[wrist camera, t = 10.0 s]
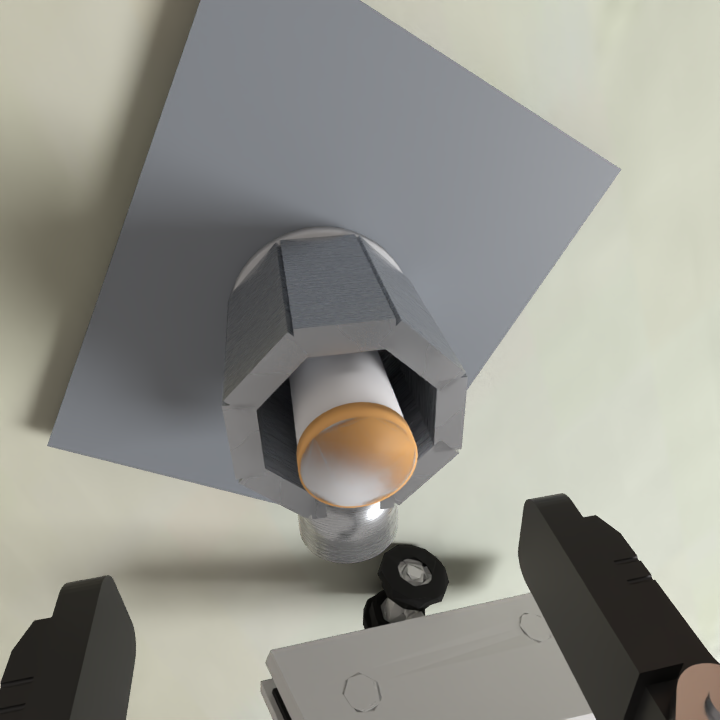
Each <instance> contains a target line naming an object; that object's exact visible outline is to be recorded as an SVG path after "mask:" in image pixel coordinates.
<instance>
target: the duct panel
mask: <svg viewBox="0 0 720 720" xmlns="http://www.w3.org/2000/svg"><path fill="white" fill-rule="evenodd" d="M620 171H621V169H620V168H618V167H617V166H615V165H614V164H612V163H611V162H609V161H608V160H606V159H604V158H603V157H601V156H600V155H598V154H597V153H595V152H594V151H592V150H591V149H589V148H587V147H586V146H584V145H583V144H581V143H580V142H578V141H577V140H575V139H574V138H572V137H570V136H569V135H567V134H566V133H564V132H563V131H561V130H560V129H558V128H557V127H555V126H553V125H552V124H550V123H549V122H547V121H546V120H544V119H543V118H541V117H540V116H538V115H536V114H535V113H533V112H532V111H530V110H529V109H527V108H526V107H524V106H523V105H521V104H519V103H518V102H516V101H515V100H513V99H512V98H510V97H509V96H507V95H505V94H504V93H502V92H501V91H499V90H498V89H496V88H495V87H493V86H492V85H490V84H488V83H487V82H485V81H484V80H482V79H481V78H479V77H478V76H476V75H475V74H473V73H471V72H470V71H468V70H467V69H465V68H464V67H462V66H461V65H459V64H458V63H456V62H454V61H453V60H451V59H450V58H448V57H447V56H445V55H444V54H442V53H441V52H439V51H437V50H436V49H434V48H433V47H431V46H430V45H428V44H427V43H425V42H424V41H422V40H420V39H419V38H417V37H416V36H414V35H413V34H411V33H410V32H408V31H407V30H405V29H403V28H402V27H400V26H399V25H397V24H396V23H394V22H393V21H391V20H390V19H388V18H386V17H385V16H383V15H382V14H380V13H379V12H377V11H376V10H374V9H372V8H371V7H369V6H368V5H366V4H365V3H363V2H362V1H360V0H200V3H199V6H198V9H197V12H196V15H195V18H194V21H193V24H192V27H191V29H190V32H189V35H188V38H187V41H186V44H185V47H184V50H183V53H182V56H181V59H180V61H179V64H178V67H177V70H176V73H175V76H174V79H173V82H172V85H171V88H170V90H169V93H168V96H167V99H166V102H165V105H164V108H163V111H162V114H161V117H160V120H159V122H158V125H157V128H156V131H155V134H154V137H153V140H152V143H151V146H150V149H149V152H148V154H147V157H146V160H145V163H144V166H143V169H142V172H141V175H140V178H139V181H138V183H137V186H136V189H135V192H134V195H133V198H132V201H131V204H130V207H129V210H128V213H127V215H126V218H125V221H124V224H123V227H122V230H121V233H120V236H119V239H118V242H117V245H116V247H115V250H114V253H113V256H112V259H111V262H110V265H109V268H108V271H107V274H106V276H105V279H104V282H103V285H102V288H101V291H100V294H99V297H98V300H97V303H96V306H95V308H94V311H93V314H92V317H91V320H90V323H89V326H88V329H87V332H86V335H85V337H84V340H83V343H82V346H81V349H80V352H79V355H78V358H77V361H76V364H75V367H74V369H73V372H72V375H71V378H70V381H69V384H68V387H67V390H66V393H65V396H64V399H63V401H62V404H61V407H60V410H59V413H58V416H57V419H56V422H55V425H54V428H53V430H52V433H51V436H50V439H49V442H48V445H47V446H50V447H54V448H58V449H61V450H65V451H69V452H73V453H77V454H81V455H85V456H89V457H93V458H97V459H101V460H105V461H109V462H113V463H117V464H121V465H125V466H129V467H133V468H137V469H141V470H145V471H149V472H153V473H157V474H161V475H165V476H169V477H173V478H177V479H181V480H185V481H189V482H193V483H197V484H201V485H205V486H209V487H213V488H217V489H220V490H224V491H228V492H232V493H236V494H240V495H244V496H248V497H252V498H256V499H260V500H264V501H268V502H272V503H276V502H274V501H272V500H270V499H268V498H266V497H264V496H262V495H260V494H258V493H256V492H255V491H253V490H251V489H249V488H247V487H245V486H243V485H241V484H239V479H235V474H234V469H233V463H232V458H231V453H230V447H229V442H228V437H227V432H226V426H225V421H224V416H223V410H222V393H223V376H224V359H225V342H226V325H227V308H228V300H229V296H230V294H231V293H232V292H233V291H234V290H235V289H236V288H237V286H238V285H239V284H240V283H241V282H242V281H243V279H244V278H245V277H246V276H247V275H248V274H249V273H250V271H251V270H252V269H253V268H254V267H255V266H256V264H257V263H258V262H259V261H260V260H261V259H262V258H263V256H264V255H265V254H266V253H267V252H268V251H269V249H270V248H271V247H272V246H273V245H274V244H275V243H277V244H278V245H280V240H288V239H300V238H312V237H324V236H336V235H348V234H355V236H356V238H357V237H358V236H360V237H362V238H363V239H364V240H365V241H366V242H367V243H368V244H370V245H371V246H372V247H373V248H374V249H375V250H376V251H378V252H379V253H380V254H381V255H382V256H383V257H385V258H386V259H387V260H388V261H389V262H390V263H391V264H393V265H394V266H395V267H396V268H397V269H398V270H399V271H401V272H402V273H403V274H404V275H405V276H406V277H407V278H409V279H410V281H411V283H412V284H413V286H414V288H415V289H416V291H417V293H418V294H419V296H420V298H421V299H422V301H423V303H424V304H425V306H426V308H427V309H428V311H429V313H430V314H431V316H432V317H433V319H434V321H435V322H436V324H437V326H438V327H439V329H440V331H441V332H442V334H443V336H444V337H445V339H446V341H447V342H448V344H449V346H450V347H451V349H452V350H453V352H454V354H455V355H456V357H457V359H458V360H459V362H460V364H461V365H462V367H463V369H464V370H465V372H466V375H467V377H468V380H467V389H468V388H469V386H470V385H471V383H472V382H473V381H474V379H475V378H476V376H477V375H478V373H479V372H480V371H481V369H482V368H483V366H484V365H485V363H486V362H487V361H488V359H489V358H490V356H491V355H492V353H493V352H494V351H495V349H496V348H497V346H498V345H499V343H500V342H501V341H502V339H503V338H504V336H505V335H506V333H507V332H508V331H509V329H510V328H511V326H512V325H513V323H514V322H515V321H516V319H517V318H518V316H519V315H520V313H521V312H522V311H523V309H524V308H525V306H526V305H527V303H528V302H529V301H530V299H531V298H532V296H533V295H534V293H535V292H536V291H537V289H538V288H539V286H540V285H541V283H542V282H543V281H544V279H545V278H546V276H547V275H548V273H549V272H550V271H551V269H552V268H553V266H554V265H555V263H556V262H557V261H558V259H559V258H560V256H561V255H562V253H563V252H564V251H565V249H566V248H567V246H568V245H569V243H570V242H571V241H572V239H573V238H574V236H575V235H576V233H577V232H578V231H579V229H580V228H581V226H582V225H583V223H584V222H585V221H586V219H587V218H588V216H589V215H590V213H591V212H592V211H593V209H594V208H595V206H596V205H597V203H598V202H599V201H600V199H601V198H602V196H603V195H604V193H605V192H606V191H607V189H608V188H609V186H610V185H611V183H612V182H613V181H614V179H615V178H616V176H617V175H618V173H619V172H620ZM280 246H281V245H280ZM289 381H290V389H291V397H292V406H293V414H294V423H295V431H296V439H297V452H296V453H297V466H298V473H299V478H300V481H301V483H302V485H303V487H304V488H305V489H306V491H307V492H308V493H309V494H310V495H311V496H313V497H314V498H315V499H317V500H319V501H321V502H323V503H325V504H328V505H331V506H336V507H343V508H356V507H363V506H368V505H371V504H375V503H377V502H380V501H382V500H384V499H386V498H388V497H390V496H391V495H393V494H395V493H396V492H397V491H398V490H400V489H401V488H402V487H403V486H404V485H405V484H406V482H407V481H408V480H409V479H410V477H411V475H412V474H413V472H414V470H415V467H416V463H417V457H418V452H417V446H416V442H415V440H414V437H413V435H412V432H411V430H410V427H409V425H408V424H407V422H406V421H405V419H404V417H403V415H402V412H401V409H400V407H399V404H398V402H397V399H396V397H395V394H394V391H393V389H392V386H391V384H390V381H389V378H388V376H387V373H386V371H385V368H384V366H383V363H382V360H381V358H380V355H379V353H378V350H374V351H365V352H355V353H346V354H337V355H328V356H319V357H310V358H306V359H305V360H304V361H303V362H302V363H301V364H300V365H299V367H298V368H297V369H296V370H295V371H294V372H293V373H292V374H291V375H290V376H289ZM276 504H278V503H276Z"/></svg>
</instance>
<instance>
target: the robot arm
mask: <svg viewBox="0 0 720 720" xmlns="http://www.w3.org/2000/svg"><path fill="white" fill-rule="evenodd" d="M518 557H519V563H520V568H521V571H522V574H523V577H524V580H525V582H526V584H527V586H528V588H529V590H530V592H531V594H532V595H533V597H534V599H535V601H536V603H537V605H538V607H539V609H540V611H541V613H542V615H543V617H544V619H545V621H546V623H547V625H548V627H549V629H550V631H551V633H552V635H553V636H554V638H555V640H556V642H557V644H558V646H559V648H560V650H561V652H562V654H563V656H564V658H565V660H566V662H567V664H568V666H569V668H570V670H571V672H572V674H573V675H574V677H575V679H576V681H577V683H578V685H579V687H580V689H581V691H582V693H583V695H584V697H585V699H586V701H587V703H588V705H589V707H590V709H591V711H592V713H593V715H594V716H595V718H596V720H720V664H719V663H718V662H717V661H716V660H715V659H714V658H713V656H712V655H711V654H710V653H709V652H708V650H707V649H706V648H705V646H704V645H703V644H702V642H701V641H700V640H699V638H698V637H697V636H696V634H695V633H694V632H693V630H692V629H691V628H690V626H689V625H688V623H687V622H686V621H685V619H684V618H683V617H682V615H681V614H680V613H679V611H678V610H677V609H676V607H675V606H674V605H673V603H672V602H671V601H670V599H669V598H668V597H667V595H666V594H665V593H664V591H663V590H662V589H661V587H660V586H659V585H658V583H657V582H656V580H653V579H652V577H651V574H650V572H649V571H648V570H647V568H646V567H645V566H644V564H643V563H642V562H641V561H639V560H638V558H637V555H636V554H635V552H634V551H633V550H632V548H631V547H630V546H629V544H628V543H627V541H626V540H625V539H624V537H623V536H622V535H621V533H619V532H618V531H617V530H615V529H614V528H613V527H611V526H610V525H609V524H607V523H606V522H604V521H603V520H602V519H600V518H599V517H598V516H596V515H594V516H589V517H583V516H582V515H581V514H580V512H579V511H578V509H577V508H576V506H575V505H574V503H573V502H572V501H571V499H570V498H569V497H568V496H567V495H565V494H563V493H561V494H555V495H550V496H544V497H539V498H533V499H528V500H526V502H525V504H524V509H523V517H522V524H521V532H520V540H519V547H518ZM135 656H136V640H135V632H134V627H133V624H132V621H131V619H130V617H129V614H128V612H127V610H126V607H125V605H124V603H123V600H122V598H121V596H120V593H119V591H118V589H117V587H116V584H115V582H114V580H113V578H112V577H111V576H109V575H107V576H102V577H97V578H91V579H86V580H80V581H75V582H69V583H66V584H65V585H64V586H63V587H62V588H61V590H60V593H59V596H58V599H57V602H56V606H55V609H54V612H53V616H52V617H51V618H46V619H41V620H35V621H34V622H33V623H32V624H31V626H30V627H29V628H28V630H27V631H26V632H25V634H24V635H23V636H22V638H21V639H20V641H19V642H18V643H17V645H16V646H15V647H14V649H13V650H12V652H11V655H10V658H9V660H8V663H7V666H6V669H5V672H4V675H3V677H2V680H1V688H0V720H126V715H127V709H128V702H129V696H130V689H131V683H132V676H133V670H134V664H135Z"/></svg>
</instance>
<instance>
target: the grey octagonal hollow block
mask: <svg viewBox="0 0 720 720" xmlns="http://www.w3.org/2000/svg"><path fill="white" fill-rule="evenodd" d="M280 245H281V246H280ZM280 245H278V244H277V243H275V244H274V245H273V246H272V247H271V248H270V249H269V251H268V252H267V253H266V254H265V255H264V256H263V258H262V259H261V260H260V261H259V262H258V263H257V264H256V266H255V267H254V268H253V269H252V270H251V271H250V273H249V274H248V275H247V276H246V277H245V278H244V279H243V281H242V282H241V283H240V284H239V285H238V286H237V288H236V289H235V290H234V291H233V292H232V293H231V294H230V296H229V300H228V308H227V325H226V342H225V359H224V376H223V393H222V410H223V416H224V421H225V426H226V432H227V437H228V442H229V447H230V453H231V458H232V463H233V469H234V474H235V479H239V484H241V485H243V486H245V487H247V488H249V489H251V490H253V491H255V492H256V493H258V494H260V495H262V496H264V497H266V498H268V499H270V500H272V501H274V502H276V503H278V504H280V505H281V506H283V507H285V508H287V509H289V510H291V511H293V512H295V513H297V514H298V520H299V529H300V535H301V537H302V540H303V542H304V543H305V545H306V546H307V547H308V549H309V550H310V551H312V552H313V553H314V554H316V555H317V556H319V557H321V558H323V559H325V560H328V561H331V562H336V563H358V562H362V561H366V560H369V559H371V558H373V557H375V556H377V555H379V554H380V553H382V552H383V551H384V550H385V549H386V548H387V547H388V546H389V545H390V544H391V542H392V541H393V539H394V537H395V535H396V532H397V526H398V505H400V504H401V503H402V502H403V501H405V500H406V499H407V498H408V497H409V496H410V495H411V494H413V493H414V492H415V491H416V490H417V489H418V488H420V487H421V486H422V485H423V484H424V483H425V482H426V481H428V480H429V479H430V478H431V477H432V476H433V475H434V474H436V473H437V472H438V471H439V470H440V469H441V468H443V467H444V466H445V465H446V464H447V463H448V462H449V461H451V460H452V459H453V458H454V457H455V456H456V455H457V454H459V452H458V449H461V448H462V436H463V425H464V414H465V403H466V391H467V380H468V377H467V375H466V372H465V370H464V369H463V367H462V365H461V364H460V362H459V360H458V359H457V357H456V355H455V354H454V352H453V350H452V349H451V347H450V346H449V344H448V342H447V341H446V339H445V337H444V336H443V334H442V332H441V331H440V329H439V327H438V326H437V324H436V322H435V321H434V319H433V317H432V316H431V314H430V313H429V311H428V309H427V308H426V306H425V304H424V303H423V301H422V299H421V298H420V296H419V294H418V293H417V291H416V289H415V288H414V286H413V284H412V283H411V281H410V279H409V278H407V277H406V276H405V275H404V274H403V273H402V272H401V271H399V270H398V269H397V268H396V267H395V266H394V265H393V264H391V263H390V262H389V261H388V260H387V259H386V258H385V257H383V256H382V255H381V254H380V253H379V252H378V251H376V250H375V249H374V248H373V247H372V246H371V245H370V244H368V243H367V242H366V241H365V240H364V239H363V238H362V237H360V236H358V237H357V238H356V236H355V234H348V235H336V236H324V237H312V238H300V239H288V240H280ZM374 350H378V353H379V355H380V358H381V360H382V363H383V366H384V368H385V371H386V373H387V376H388V378H389V381H390V384H391V386H392V389H393V391H394V394H395V397H396V399H397V402H398V404H399V407H400V409H401V412H402V415H403V417H404V419H405V421H406V422H407V424H408V425H409V427H410V430H411V432H412V435H413V437H414V440H415V442H416V446H417V452H418V457H417V463H416V467H415V470H414V472H413V474H412V475H411V477H410V479H409V480H408V481H407V482H406V484H405V485H404V486H403V487H402V488H401V489H400V490H398V491H397V492H396V493H395V494H393V495H391V496H390V497H388V498H386V499H384V500H382V501H380V502H377V503H375V504H371V505H368V506H363V507H356V508H343V507H336V506H331V505H328V504H325V503H323V502H321V501H319V500H317V499H315V498H314V497H313V496H311V495H310V494H309V493H308V492H307V491H306V489H305V488H304V487H303V485H302V483H301V481H300V478H299V473H298V466H297V453H296V452H297V439H296V431H295V423H294V414H293V406H292V397H291V389H290V381H289V376H290V375H291V374H292V373H293V372H294V371H295V370H296V369H297V368H298V367H299V365H300V364H301V363H302V362H303V361H304V360H305V359H306V358H310V357H319V356H328V355H337V354H346V353H355V352H365V351H374Z"/></svg>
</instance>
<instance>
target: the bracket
mask: <svg viewBox="0 0 720 720" xmlns="http://www.w3.org/2000/svg"><path fill="white" fill-rule="evenodd" d="M378 576H379V577H380V579H381V580H382V587H383V589H384V590H383V591H381V592H379V593H377V594H376V595H375V596H373V597H371V598H370V599H368V600H367V602H366V605H365V607H364V612H363V625H364V628H365V629H364V630H359V631H355V632H350V633H346V634H341V635H337V636H332V637H328V638H323V639H319V640H314V641H310V642H305V643H301V644H296V645H292V646H287V647H282V648H278V649H273V650H271V651H270V653H269V655H268V657H267V660H266V662H265V663H266V665H267V668H268V670H269V672H270V674H271V676H272V679H268V680H264V681H261V694H262V696H263V698H264V700H265V703H266V705H267V707H268V710H269V712H270V714H271V716H272V719H273V720H596V718H595V716H594V715H593V713H592V711H591V709H590V707H589V705H588V703H587V701H586V699H585V697H584V695H583V693H582V691H581V689H580V687H579V685H578V683H577V681H576V679H575V677H574V675H573V674H572V672H571V670H570V668H569V666H568V664H567V662H566V660H565V658H564V656H563V654H562V652H561V650H560V648H559V646H558V644H557V642H556V640H555V638H554V636H553V635H552V633H551V631H550V629H549V627H548V625H547V623H546V621H545V619H544V617H543V615H542V613H541V611H540V609H539V607H538V605H537V603H536V601H535V599H534V597H533V595H532V594H531V593H527V594H522V595H518V596H513V597H509V598H504V599H500V600H495V601H491V602H486V603H482V604H477V605H473V606H468V607H464V608H459V609H455V610H450V611H445V612H441V613H436V614H432V615H427V616H425V609H426V608H427V607H428V606H430V605H432V604H435V603H438V602H441V601H442V599H443V597H444V594H445V591H446V589H447V586H448V583H449V581H448V577H447V574H446V570H445V567H444V566H443V565H442V563H441V562H440V561H439V560H438V558H436V557H435V556H434V555H432V554H431V553H429V552H428V551H427V550H425V549H423V548H419V547H415V546H412V545H398V546H396V547H394V548H393V549H391V550H389V551H388V552H386V553H385V554H384V556H383V559H382V562H381V565H380V568H379V571H378Z"/></svg>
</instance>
